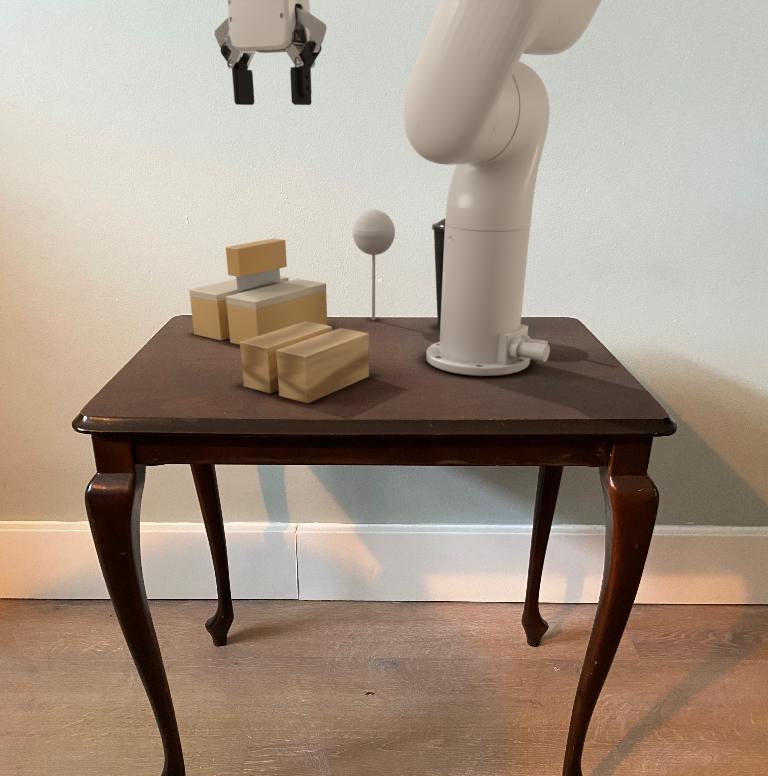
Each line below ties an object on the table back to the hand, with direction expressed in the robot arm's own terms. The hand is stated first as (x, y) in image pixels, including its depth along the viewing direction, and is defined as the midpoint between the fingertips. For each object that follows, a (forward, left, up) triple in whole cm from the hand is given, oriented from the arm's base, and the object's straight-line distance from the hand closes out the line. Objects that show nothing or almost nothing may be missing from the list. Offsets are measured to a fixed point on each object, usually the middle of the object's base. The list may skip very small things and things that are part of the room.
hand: (272, 104), depth 94 cm
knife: (-2, +7, -27) cm, 29 cm away
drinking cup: (-23, -10, -28) cm, 37 cm away
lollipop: (-11, -7, -28) cm, 31 cm away
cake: (-2, +7, -27) cm, 28 cm away
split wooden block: (-21, +20, -27) cm, 40 cm away
